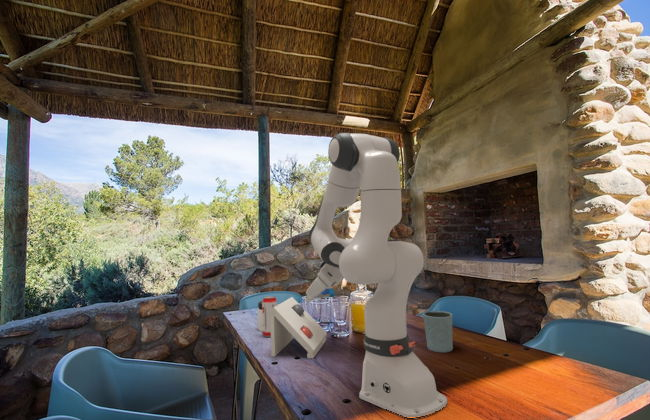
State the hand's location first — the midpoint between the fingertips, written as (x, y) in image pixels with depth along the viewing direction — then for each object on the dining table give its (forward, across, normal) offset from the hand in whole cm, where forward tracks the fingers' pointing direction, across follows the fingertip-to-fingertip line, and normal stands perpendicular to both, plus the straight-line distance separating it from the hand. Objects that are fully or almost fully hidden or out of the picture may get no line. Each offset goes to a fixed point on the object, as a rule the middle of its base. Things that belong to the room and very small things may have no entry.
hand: (307, 300), depth 130 cm
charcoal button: (+7, 0, +2) cm, 8 cm away
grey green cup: (-22, -2, +46) cm, 51 cm away
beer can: (+26, -9, -2) cm, 27 cm away
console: (+13, +4, +10) cm, 17 cm away
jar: (+29, -19, -5) cm, 35 cm away
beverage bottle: (+12, -34, +12) cm, 38 cm away
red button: (+8, +8, +10) cm, 15 cm away
